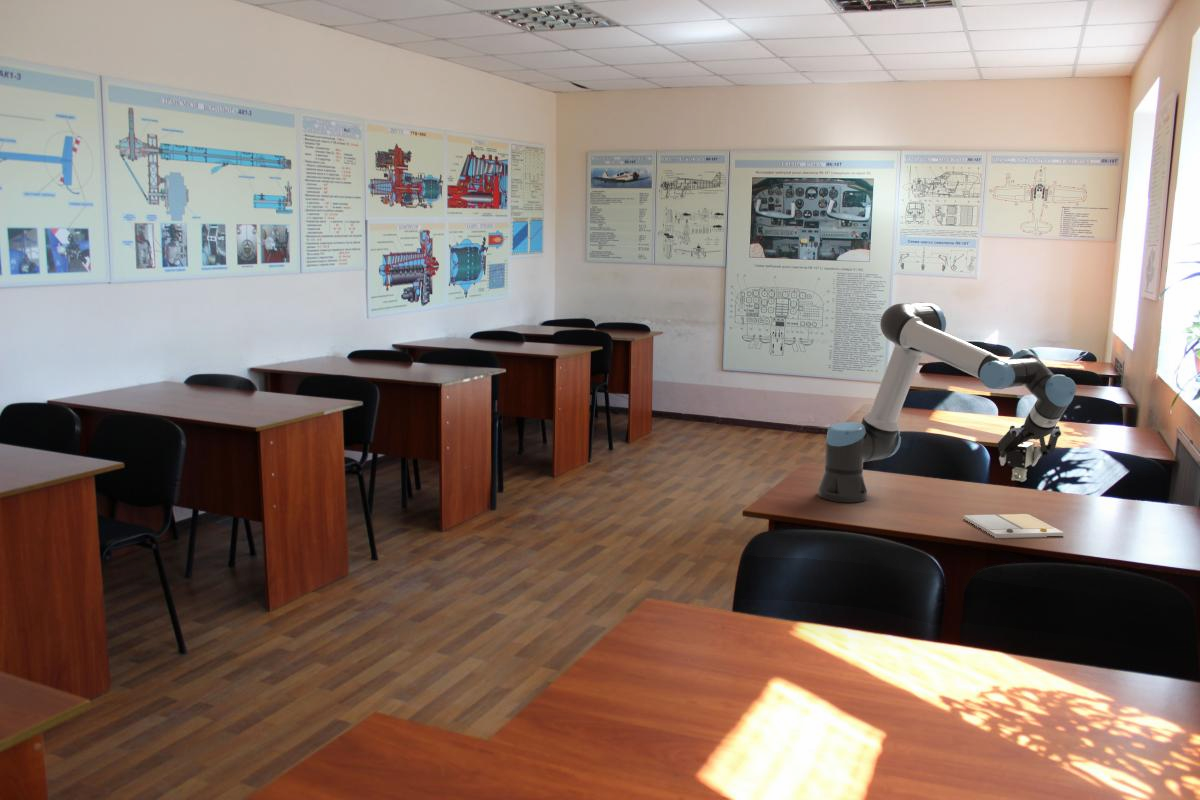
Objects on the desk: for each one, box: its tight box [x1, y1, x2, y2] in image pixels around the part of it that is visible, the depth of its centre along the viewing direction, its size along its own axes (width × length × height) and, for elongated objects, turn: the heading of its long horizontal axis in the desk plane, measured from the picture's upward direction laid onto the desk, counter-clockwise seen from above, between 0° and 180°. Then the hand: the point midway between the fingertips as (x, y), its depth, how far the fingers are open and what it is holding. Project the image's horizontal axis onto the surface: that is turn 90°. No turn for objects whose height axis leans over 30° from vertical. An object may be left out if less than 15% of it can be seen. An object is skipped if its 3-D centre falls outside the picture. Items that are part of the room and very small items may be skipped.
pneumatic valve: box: [1005, 441, 1035, 483], centre depth 278 cm, size 6×12×12 cm, turn 142°
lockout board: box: [963, 513, 1065, 539], centre depth 272 cm, size 18×20×2 cm
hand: (1016, 461), depth 282 cm, fingers closed on pneumatic valve, 8 cm apart
